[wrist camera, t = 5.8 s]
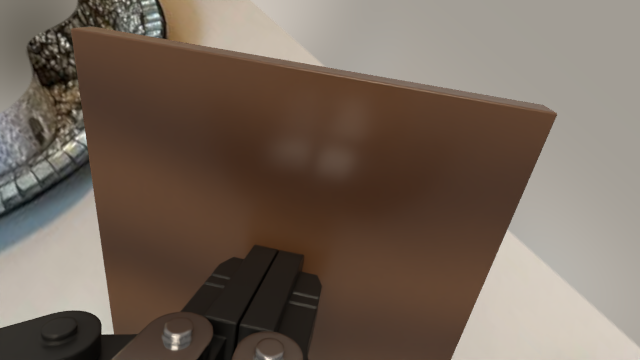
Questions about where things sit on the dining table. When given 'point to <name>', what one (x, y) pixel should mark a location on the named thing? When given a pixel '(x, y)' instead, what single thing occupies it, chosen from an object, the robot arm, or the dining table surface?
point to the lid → (300, 186)
